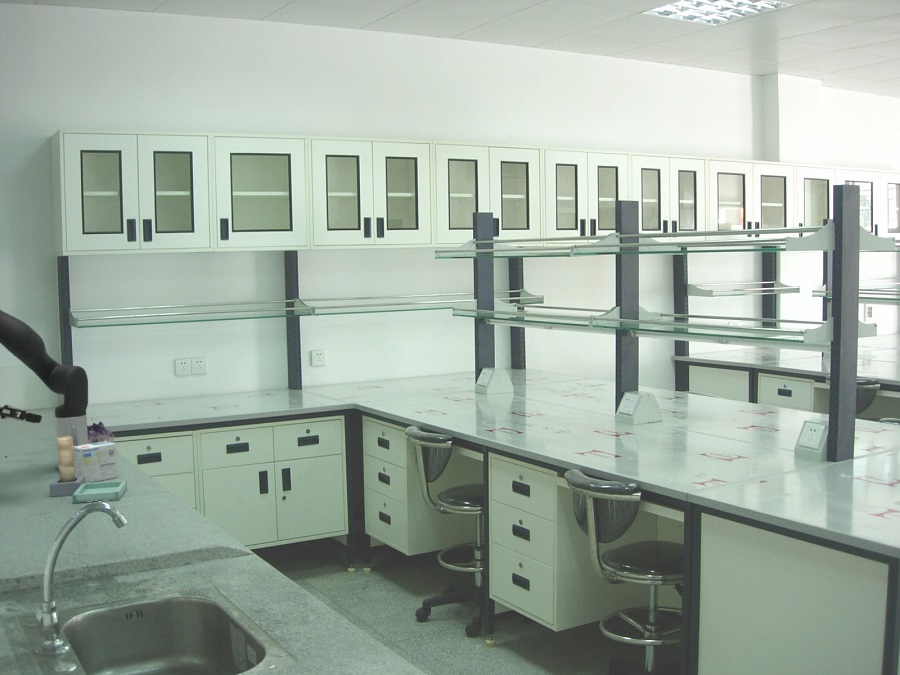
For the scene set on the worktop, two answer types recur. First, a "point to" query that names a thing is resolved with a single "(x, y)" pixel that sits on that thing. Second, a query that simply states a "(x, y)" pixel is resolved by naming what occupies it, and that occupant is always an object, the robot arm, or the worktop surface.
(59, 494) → the socket block
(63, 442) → the dowel
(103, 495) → the tray
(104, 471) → the light bulb box
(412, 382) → the worktop surface
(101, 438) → the geode
